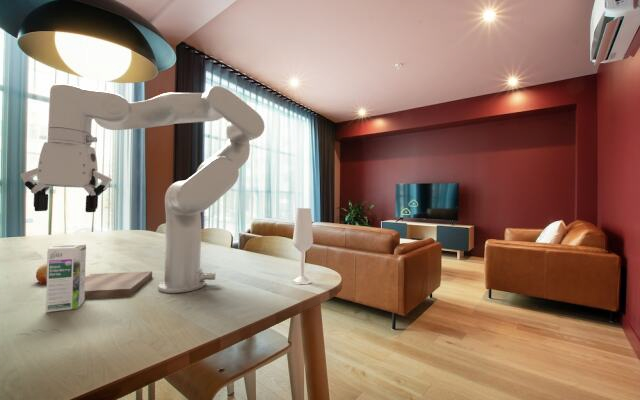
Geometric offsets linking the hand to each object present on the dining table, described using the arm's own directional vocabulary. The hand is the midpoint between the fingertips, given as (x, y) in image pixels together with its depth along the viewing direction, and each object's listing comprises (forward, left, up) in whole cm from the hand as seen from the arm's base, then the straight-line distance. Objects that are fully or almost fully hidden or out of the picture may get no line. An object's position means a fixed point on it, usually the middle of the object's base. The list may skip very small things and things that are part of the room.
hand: (66, 211), depth 65 cm
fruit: (+15, -26, -23) cm, 38 cm away
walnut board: (-3, -14, -23) cm, 27 cm away
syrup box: (0, 0, -23) cm, 23 cm away
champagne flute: (-59, -9, -23) cm, 64 cm away
